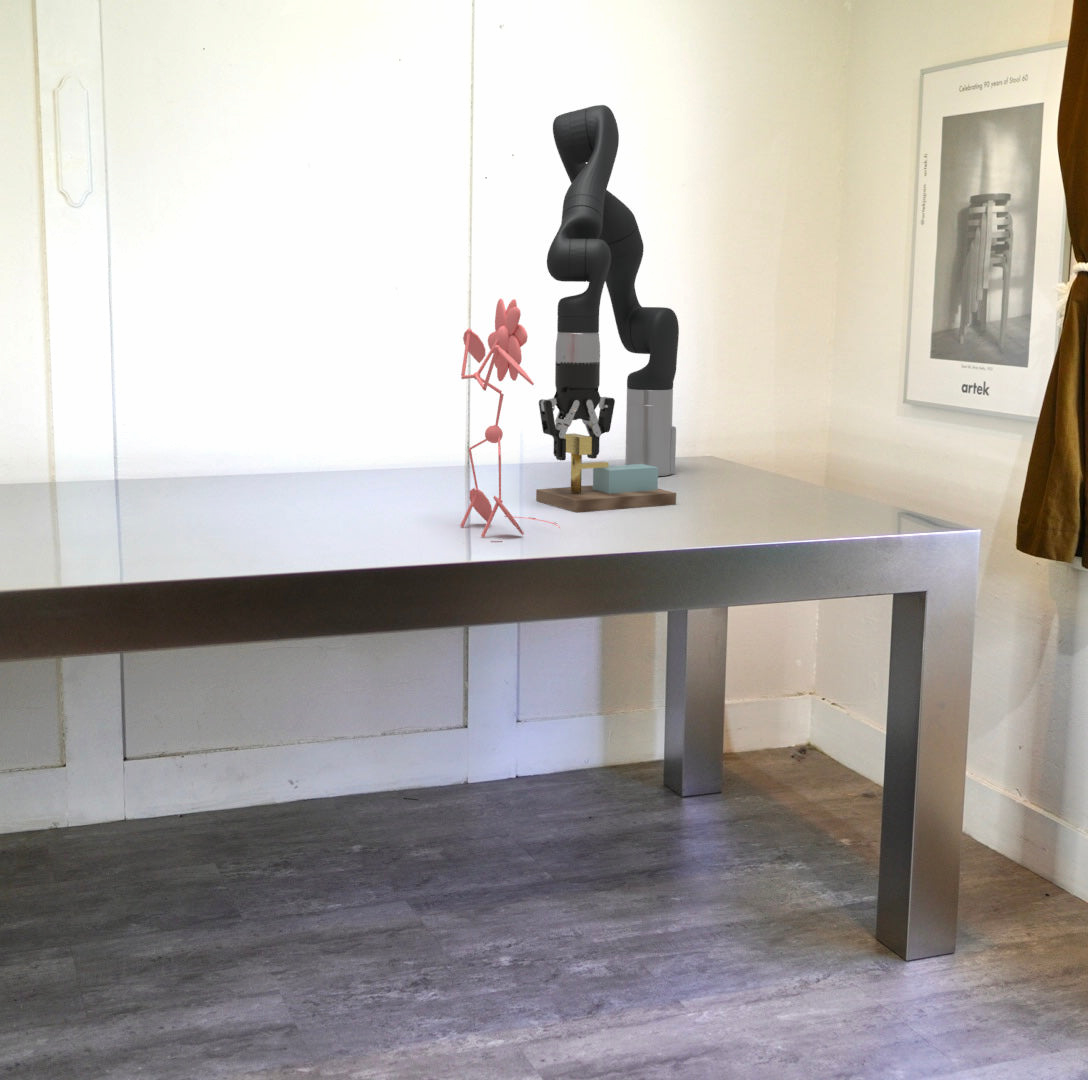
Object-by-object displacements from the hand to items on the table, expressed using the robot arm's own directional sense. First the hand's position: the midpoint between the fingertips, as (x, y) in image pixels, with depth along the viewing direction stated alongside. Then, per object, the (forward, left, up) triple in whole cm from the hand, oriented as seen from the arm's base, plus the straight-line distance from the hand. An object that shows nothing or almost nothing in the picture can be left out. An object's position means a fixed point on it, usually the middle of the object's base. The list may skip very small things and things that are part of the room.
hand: (576, 458), depth 229 cm
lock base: (-6, 0, -8) cm, 10 cm away
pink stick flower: (+21, +17, -8) cm, 28 cm away
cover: (-10, 0, -6) cm, 12 cm away
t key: (-2, 0, -6) cm, 6 cm away
